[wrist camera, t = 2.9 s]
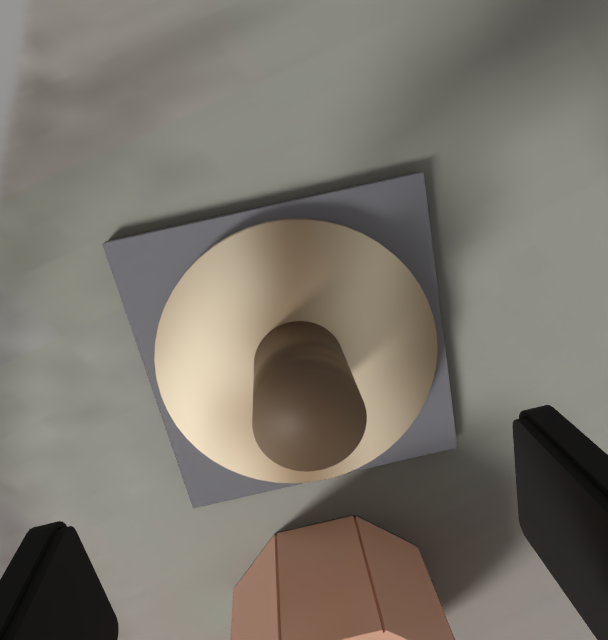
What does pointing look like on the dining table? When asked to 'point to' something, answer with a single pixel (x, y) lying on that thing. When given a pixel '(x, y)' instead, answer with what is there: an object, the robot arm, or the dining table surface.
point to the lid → (295, 351)
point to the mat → (335, 206)
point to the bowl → (338, 588)
